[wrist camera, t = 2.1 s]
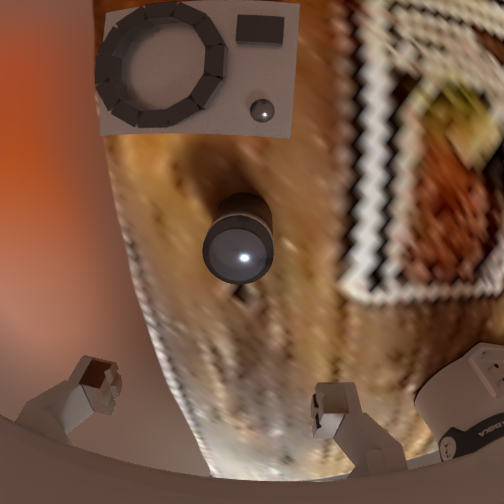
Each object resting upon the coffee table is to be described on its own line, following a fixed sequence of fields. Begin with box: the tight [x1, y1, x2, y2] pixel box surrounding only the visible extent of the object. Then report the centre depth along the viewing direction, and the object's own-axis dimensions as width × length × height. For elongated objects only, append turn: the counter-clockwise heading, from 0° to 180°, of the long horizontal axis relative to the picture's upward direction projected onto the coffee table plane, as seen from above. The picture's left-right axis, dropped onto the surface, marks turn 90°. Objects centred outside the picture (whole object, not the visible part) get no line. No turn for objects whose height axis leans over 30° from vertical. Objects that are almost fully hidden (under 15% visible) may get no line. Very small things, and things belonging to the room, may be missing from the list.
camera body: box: [95, 0, 300, 139], centre depth 20 cm, size 14×10×7 cm
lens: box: [202, 192, 274, 285], centre depth 25 cm, size 5×5×7 cm
